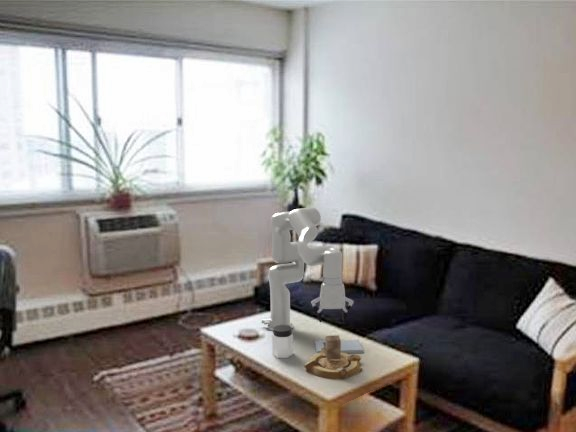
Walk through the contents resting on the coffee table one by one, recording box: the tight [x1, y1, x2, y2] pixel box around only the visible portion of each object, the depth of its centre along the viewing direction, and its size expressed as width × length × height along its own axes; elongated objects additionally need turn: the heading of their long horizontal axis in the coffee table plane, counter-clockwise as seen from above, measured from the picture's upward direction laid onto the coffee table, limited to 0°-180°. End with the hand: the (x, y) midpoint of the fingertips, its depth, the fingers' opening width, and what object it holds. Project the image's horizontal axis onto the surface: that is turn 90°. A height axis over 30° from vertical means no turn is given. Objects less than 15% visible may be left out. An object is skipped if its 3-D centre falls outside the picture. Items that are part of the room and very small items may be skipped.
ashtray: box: [304, 347, 362, 380], centre depth 232 cm, size 24×24×5 cm
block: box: [325, 335, 342, 359], centre depth 231 cm, size 6×6×8 cm
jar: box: [271, 325, 294, 359], centre depth 244 cm, size 9×8×12 cm
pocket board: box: [314, 338, 364, 354], centre depth 251 cm, size 20×12×2 cm, turn 92°
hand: (332, 320), depth 230 cm, fingers open, 9 cm apart
